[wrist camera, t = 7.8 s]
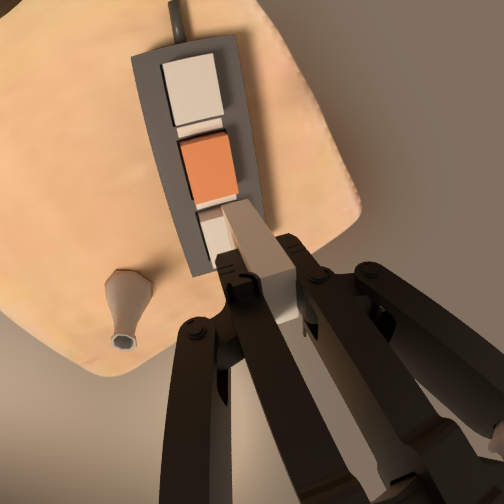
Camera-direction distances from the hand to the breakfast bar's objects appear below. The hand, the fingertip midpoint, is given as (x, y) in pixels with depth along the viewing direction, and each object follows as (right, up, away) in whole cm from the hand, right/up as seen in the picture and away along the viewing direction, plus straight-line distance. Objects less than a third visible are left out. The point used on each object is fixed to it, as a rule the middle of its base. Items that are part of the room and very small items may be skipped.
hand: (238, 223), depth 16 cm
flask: (-17, -7, +21) cm, 28 cm away
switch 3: (-3, +2, +17) cm, 18 cm away
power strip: (-5, +12, +13) cm, 18 cm away
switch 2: (-4, +8, +13) cm, 16 cm away
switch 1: (-5, +15, +8) cm, 17 cm away
